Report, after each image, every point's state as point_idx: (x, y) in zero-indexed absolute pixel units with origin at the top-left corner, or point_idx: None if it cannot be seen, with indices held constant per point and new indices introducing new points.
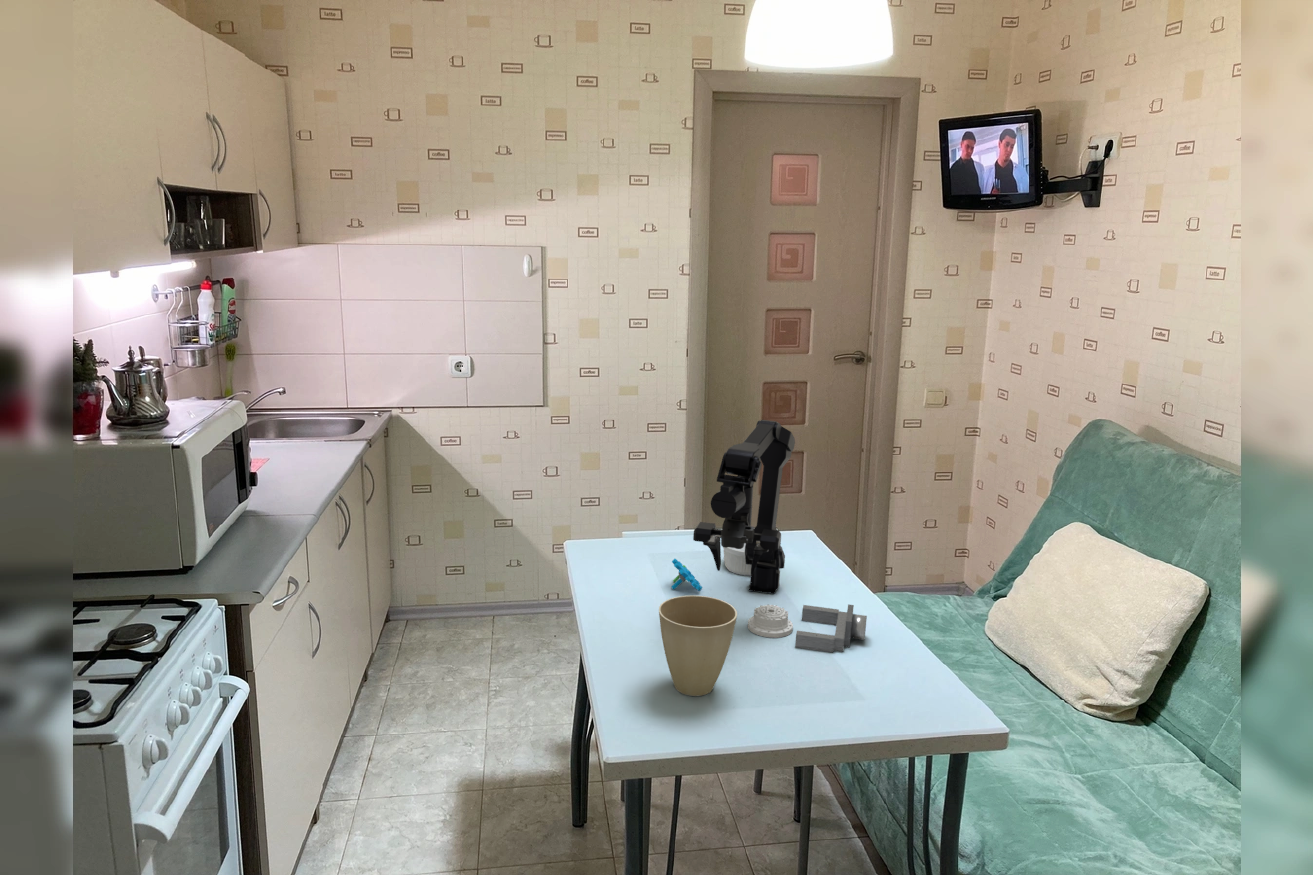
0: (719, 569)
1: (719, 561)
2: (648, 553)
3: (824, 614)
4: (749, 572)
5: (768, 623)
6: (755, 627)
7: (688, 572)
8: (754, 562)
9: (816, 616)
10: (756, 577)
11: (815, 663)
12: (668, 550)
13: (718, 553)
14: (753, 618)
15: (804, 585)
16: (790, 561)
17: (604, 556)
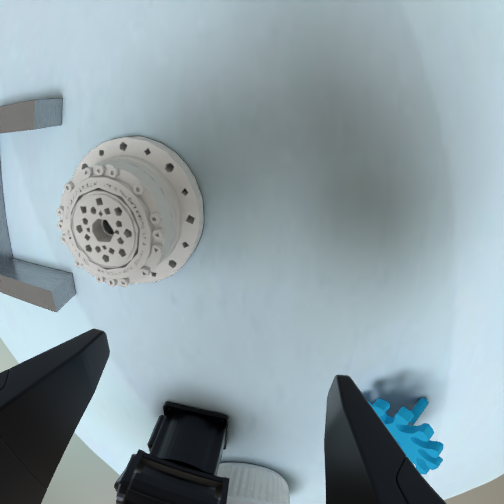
0: (335, 383)
1: (341, 438)
2: None
3: (17, 274)
4: (234, 467)
5: (113, 162)
6: (168, 171)
7: None
8: (22, 375)
9: (35, 274)
10: (203, 443)
11: (29, 35)
12: None
13: (361, 501)
14: (177, 224)
15: (122, 425)
16: None
17: (492, 458)
